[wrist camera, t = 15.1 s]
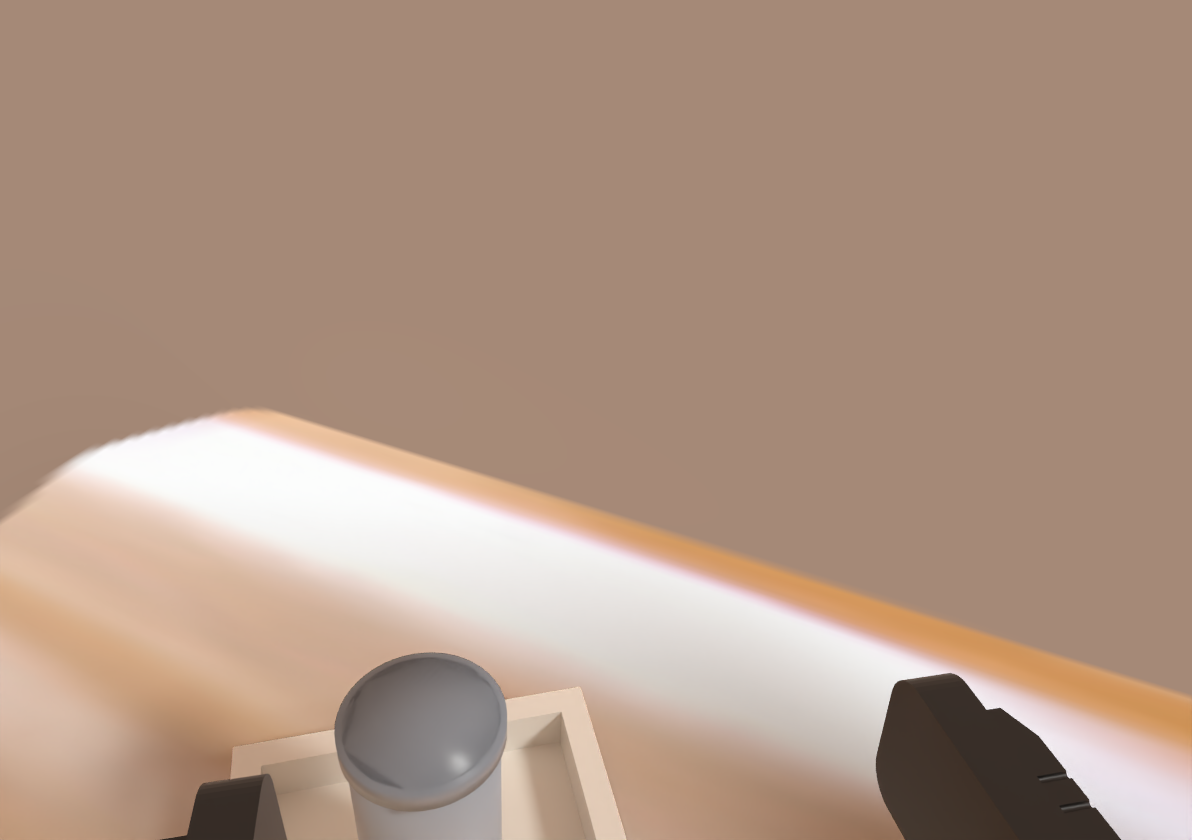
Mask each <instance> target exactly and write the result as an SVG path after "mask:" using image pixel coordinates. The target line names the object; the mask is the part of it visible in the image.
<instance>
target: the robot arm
mask: <svg viewBox="0 0 1192 840" xmlns="http://www.w3.org/2000/svg"><path fill="white" fill-rule="evenodd" d="M876 773H877V780H878V784H879V788H880V791H881V794H882V797H883V799H884V802H885V804H886V806H887V808H888V810H889V812H890V813H891V815H892V817H893V819H894V820H895V822H896V824H897V826H898V828H899V829H900V831H901V833H902V835H903V836H904V838H905V840H1121V839H1120V838H1119V837H1118V835H1117V834H1116V833H1115V831H1114V830H1113V829H1112V828H1111V826H1110V825H1109V824H1108V823H1107V821H1106V820H1105V819H1104V818H1103V816H1102V815H1101V814H1100V813H1099V811H1098V810H1097V809H1096V808H1092V807H1091V806H1090V803H1089V799H1088V798H1087V796H1086V795H1085V794H1084V793H1083V791H1082V790H1081V789H1080V788H1079V786H1078V785H1077V784H1076V783H1075V781H1074V780H1073V779H1072V778H1070V779H1069V778H1068V777H1067V774H1066V770H1065V769H1064V768H1063V766H1062V765H1061V764H1060V762H1059V761H1058V760H1057V759H1056V757H1055V756H1054V755H1053V754H1052V752H1051V751H1050V750H1049V749H1048V747H1047V746H1046V745H1045V744H1044V742H1043V741H1042V740H1041V739H1040V737H1039V736H1038V735H1036V734H1035V733H1034V732H1032V731H1031V730H1030V729H1028V728H1027V727H1025V726H1024V725H1023V724H1021V723H1020V722H1019V721H1017V720H1016V719H1015V718H1013V717H1012V716H1011V715H1009V714H1008V713H1006V712H1005V711H1004V710H1002V709H1001V708H997V709H990V710H986V709H985V707H984V706H983V705H982V703H981V702H980V701H979V700H978V698H977V697H976V696H975V694H974V693H973V692H972V690H971V689H970V688H969V686H968V685H967V684H966V683H965V681H964V680H963V679H961V678H960V677H959V676H957V675H955V674H952V673H948V674H941V675H934V676H928V677H921V678H915V679H908V680H901V681H898V682H897V683H896V684H895V686H894V687H893V690H892V694H891V698H890V702H889V706H888V710H887V714H886V718H885V723H884V727H883V731H882V735H881V739H880V743H879V747H878V752H877V756H876ZM162 840H287V837H286V833H285V829H284V825H283V821H282V817H281V813H280V808H279V804H278V800H277V796H276V792H275V788H274V784H273V781H272V778H271V776H270V775H269V774H261V775H254V776H248V777H241V778H235V779H228V780H221V781H215V782H208V783H203V784H202V785H201V786H200V788H199V790H198V792H197V795H196V799H195V803H194V807H193V812H192V816H191V821H190V825H189V830H188V834H187V836H181V837H174V838H168V839H162Z"/></svg>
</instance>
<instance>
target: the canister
mask: <svg viewBox="0 0 1192 840" xmlns="http://www.w3.org/2000/svg"><path fill="white" fill-rule="evenodd" d="M334 736H335V745H336V750H337V756H338V761H339V764H340V768H341V770H342V772H343V775H344V777H345V778H346V780H347V781H348V783H349V787H350V793H351V799H352V804H353V810H354V816H355V822H356V828H357V834H358V840H502V801H501V757H502V755H503V752H504V749H505V745H506V740H507V708H506V702H505V699H504V695H503V693H502V691H501V689H500V687H499V686H498V684H497V683H496V681H495V680H494V679H493V678H492V677H491V676H490V674H489V673H487V672H486V671H485V670H484V669H483V668H481V667H480V666H478V665H476V664H475V663H473V662H471V661H469V660H467V659H464V658H461V657H458V656H455V655H450V654H444V653H418V654H411V655H407V656H403V657H399V658H396V659H393V660H391V661H389V662H386V663H384V664H382V665H380V666H378V667H377V668H375V669H373V670H372V671H370V672H369V673H367V674H366V675H365V676H364V677H363V678H361V679H360V680H359V681H358V682H357V683H356V684H355V685H354V686H353V687H352V688H351V690H350V691H349V692H348V694H347V695H346V697H345V698H344V700H343V702H342V704H341V706H340V708H339V711H338V713H337V717H336V721H335V730H334Z"/></svg>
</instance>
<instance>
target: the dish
mask: <svg viewBox="0 0 1192 840" xmlns="http://www.w3.org/2000/svg"><path fill="white" fill-rule="evenodd" d="M505 702H506V708H507V740H506V745H505V749H504V752H503V755H502V757H501V801H502V840H627V838H626V835H625V832H624V828H623V825H622V822H621V819H620V815H619V812H618V809H617V805H616V802H615V799H614V795H613V792H612V789H611V785H610V782H609V779H608V775H607V772H606V769H605V766H604V762H603V759H602V756H601V752H600V749H599V746H598V742H597V739H596V736H595V732H594V729H593V726H592V722H591V719H590V716H589V713H588V709H587V706H586V703H585V699H584V696H583V693H582V689H581V686H580V687H574V688H568V689H563V690H557V691H551V692H545V693H540V694H534V695H528V696H522V697H517V698H511V699H505ZM334 730H335V729H333V730H327V731H322V732H316V733H310V734H304V735H299V736H293V737H287V738H281V739H276V740H270V741H264V742H258V743H253V744H247V745H241V746H236V747H233V752H232V764H231V776H230V779H235V778H241V777H248V776H254V775H261V774H269V775H270V776H271V778H272V781H273V784H274V788H275V792H276V796H277V800H278V804H279V808H280V813H281V817H282V821H283V825H284V829H285V833H286V837H287V840H358V834H357V828H356V822H355V816H354V810H353V804H352V799H351V793H350V787H349V783H348V781H347V780H346V778H345V777H344V775H343V772H342V770H341V768H340V764H339V761H338V756H337V750H336V745H335V736H334Z"/></svg>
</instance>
